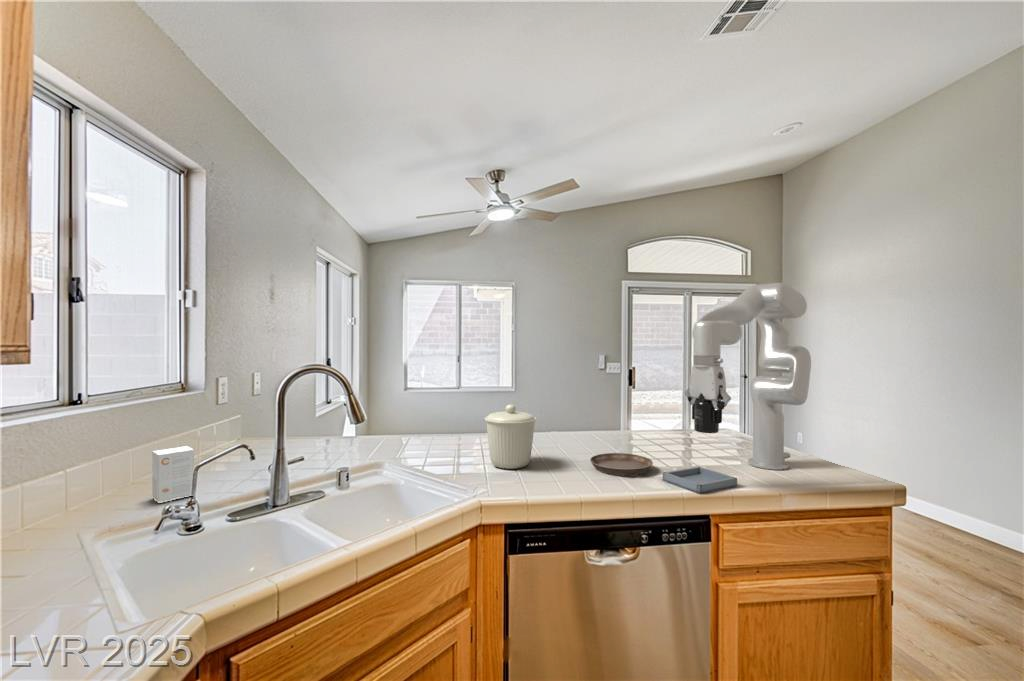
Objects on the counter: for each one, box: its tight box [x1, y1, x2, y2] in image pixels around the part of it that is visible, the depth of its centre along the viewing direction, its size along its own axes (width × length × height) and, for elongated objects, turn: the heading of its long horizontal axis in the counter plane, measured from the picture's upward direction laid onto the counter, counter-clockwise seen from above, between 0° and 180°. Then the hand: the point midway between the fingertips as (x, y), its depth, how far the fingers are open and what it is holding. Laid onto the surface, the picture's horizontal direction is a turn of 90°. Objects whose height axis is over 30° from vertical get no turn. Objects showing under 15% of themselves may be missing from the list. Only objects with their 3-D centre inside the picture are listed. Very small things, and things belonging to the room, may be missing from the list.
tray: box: [662, 466, 738, 495], centre depth 139 cm, size 16×14×2 cm
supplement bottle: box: [693, 394, 720, 434], centre depth 137 cm, size 7×7×12 cm
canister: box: [484, 404, 538, 470], centre depth 158 cm, size 18×18×21 cm
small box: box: [151, 445, 195, 501], centre depth 123 cm, size 8×6×13 cm
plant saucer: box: [589, 452, 654, 476], centre depth 155 cm, size 21×21×3 cm
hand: (706, 420), depth 137 cm, fingers closed on supplement bottle, 6 cm apart
